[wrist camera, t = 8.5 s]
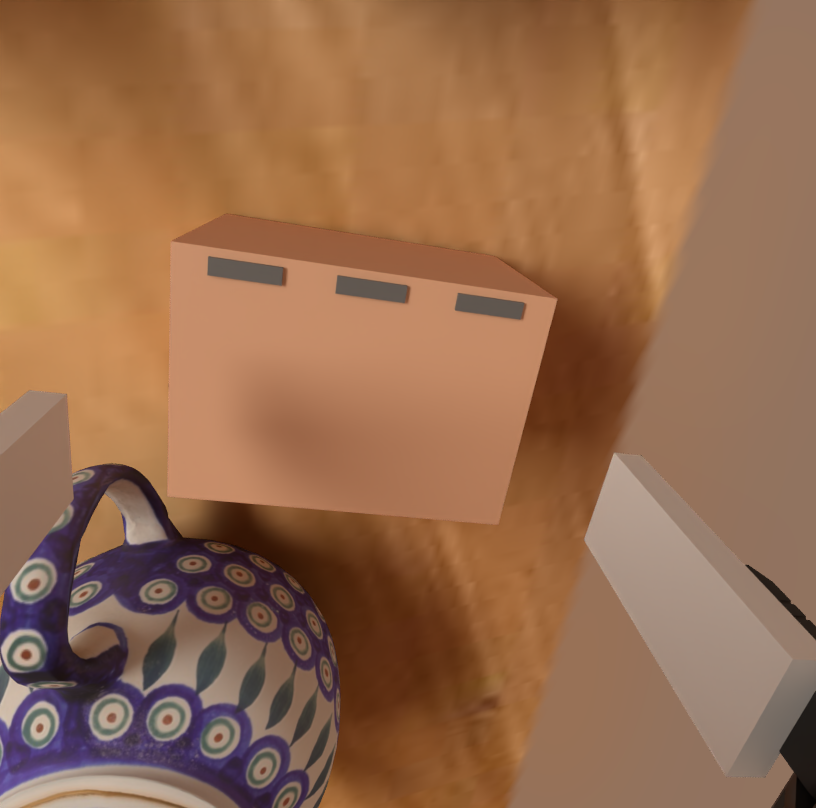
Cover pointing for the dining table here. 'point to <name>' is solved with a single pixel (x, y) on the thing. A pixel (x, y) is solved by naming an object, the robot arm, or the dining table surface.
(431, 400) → the salmon pink box
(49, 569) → the teapot
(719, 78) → the dining table surface
